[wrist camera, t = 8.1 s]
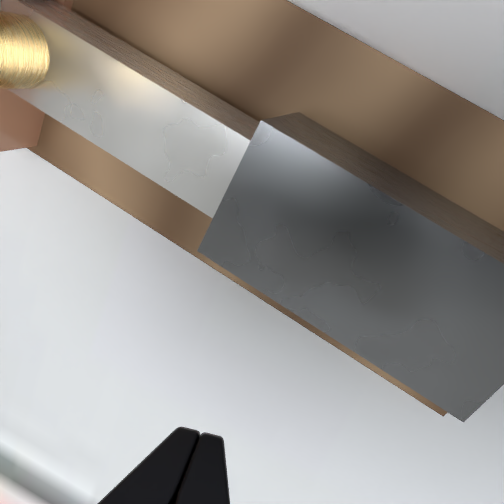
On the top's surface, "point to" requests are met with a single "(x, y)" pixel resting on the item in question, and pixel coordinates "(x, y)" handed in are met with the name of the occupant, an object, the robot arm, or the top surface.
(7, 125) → the terracotta socket
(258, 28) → the walnut board
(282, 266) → the grey rectangular block
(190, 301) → the top surface
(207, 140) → the sliding bolt with handle
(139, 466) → the robot arm
